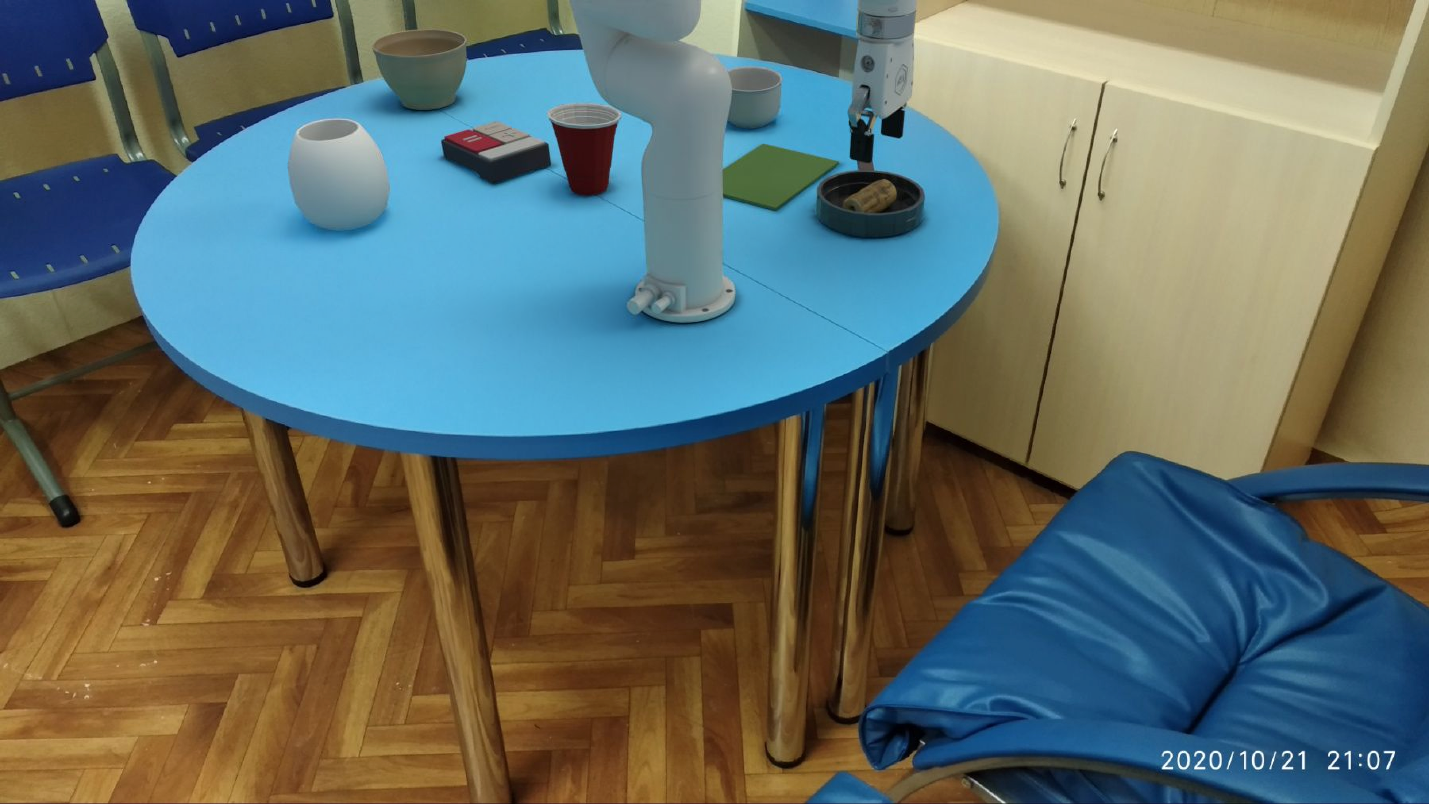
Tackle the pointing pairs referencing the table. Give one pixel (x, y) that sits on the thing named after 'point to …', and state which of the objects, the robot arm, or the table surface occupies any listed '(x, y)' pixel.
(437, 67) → the planter bowl
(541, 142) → the calculator
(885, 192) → the carved stone cylinder
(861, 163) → the pan handle
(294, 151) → the white vase
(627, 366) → the table surface
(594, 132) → the plastic cup
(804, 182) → the green mat
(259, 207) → the table surface
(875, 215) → the pan
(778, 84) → the teacup
